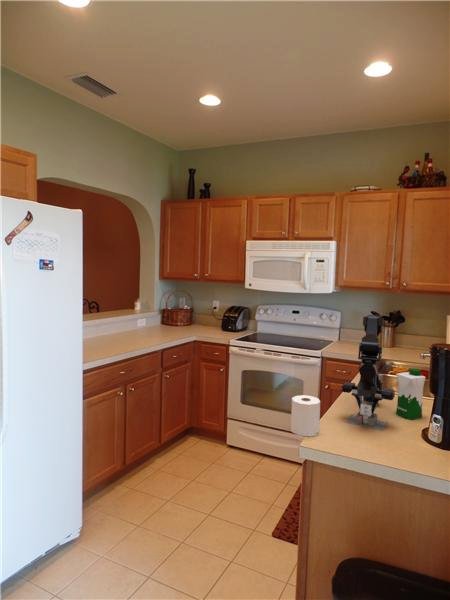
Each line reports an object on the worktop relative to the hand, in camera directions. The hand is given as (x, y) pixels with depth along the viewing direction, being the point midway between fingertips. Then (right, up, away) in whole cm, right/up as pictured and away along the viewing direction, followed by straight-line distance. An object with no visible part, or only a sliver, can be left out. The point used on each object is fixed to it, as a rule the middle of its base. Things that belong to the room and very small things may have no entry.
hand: (366, 412), depth 156 cm
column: (0, -4, 0) cm, 4 cm away
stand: (0, -5, 0) cm, 5 cm away
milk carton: (+20, -5, +8) cm, 22 cm away
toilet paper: (-25, -5, -6) cm, 27 cm away
